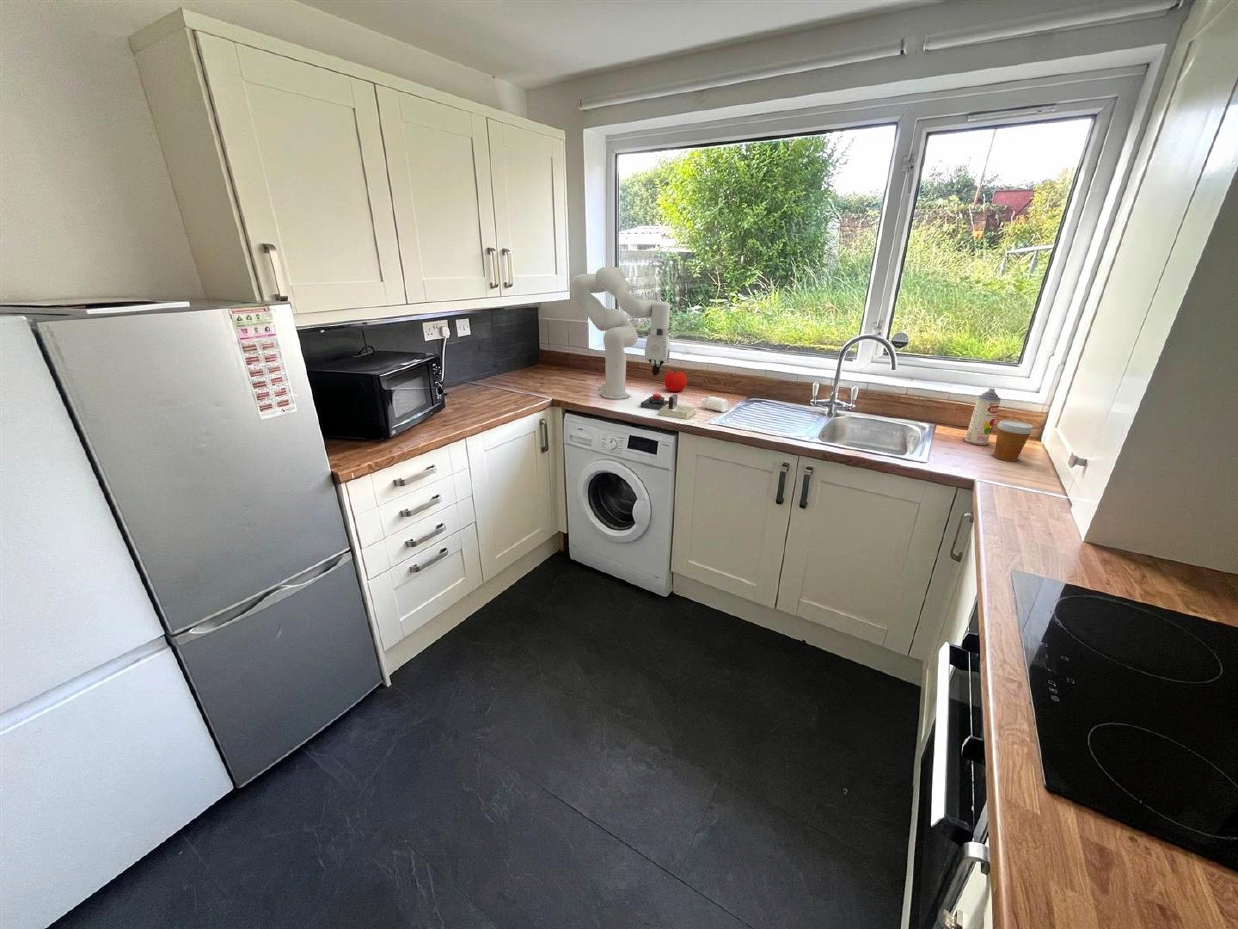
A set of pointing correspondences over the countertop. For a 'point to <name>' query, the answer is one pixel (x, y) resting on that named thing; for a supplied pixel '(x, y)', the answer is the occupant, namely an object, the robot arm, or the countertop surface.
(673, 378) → the tomato
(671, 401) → the black rectangular block
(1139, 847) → the countertop surface
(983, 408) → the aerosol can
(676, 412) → the cream flat block
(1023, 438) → the disposable coffee cup
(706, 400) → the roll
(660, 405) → the block
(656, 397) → the button
